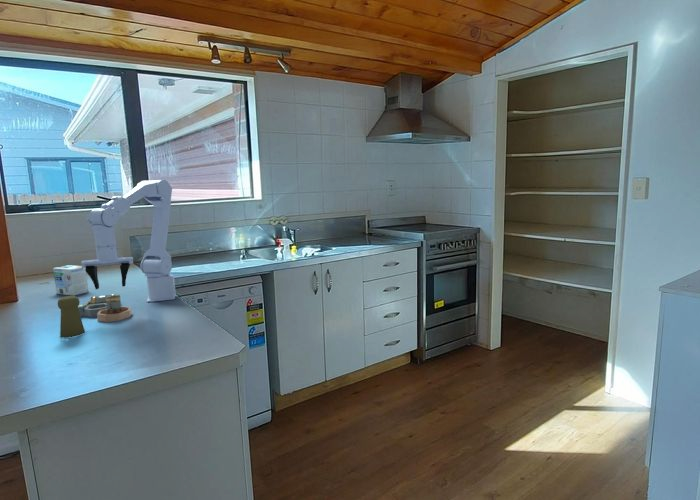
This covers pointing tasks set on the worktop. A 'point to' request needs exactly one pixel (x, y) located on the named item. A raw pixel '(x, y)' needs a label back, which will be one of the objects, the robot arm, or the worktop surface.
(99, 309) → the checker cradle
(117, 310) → the cell
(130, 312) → the cup
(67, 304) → the cork
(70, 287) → the light bulb box
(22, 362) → the worktop surface
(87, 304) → the trough
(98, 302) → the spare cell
